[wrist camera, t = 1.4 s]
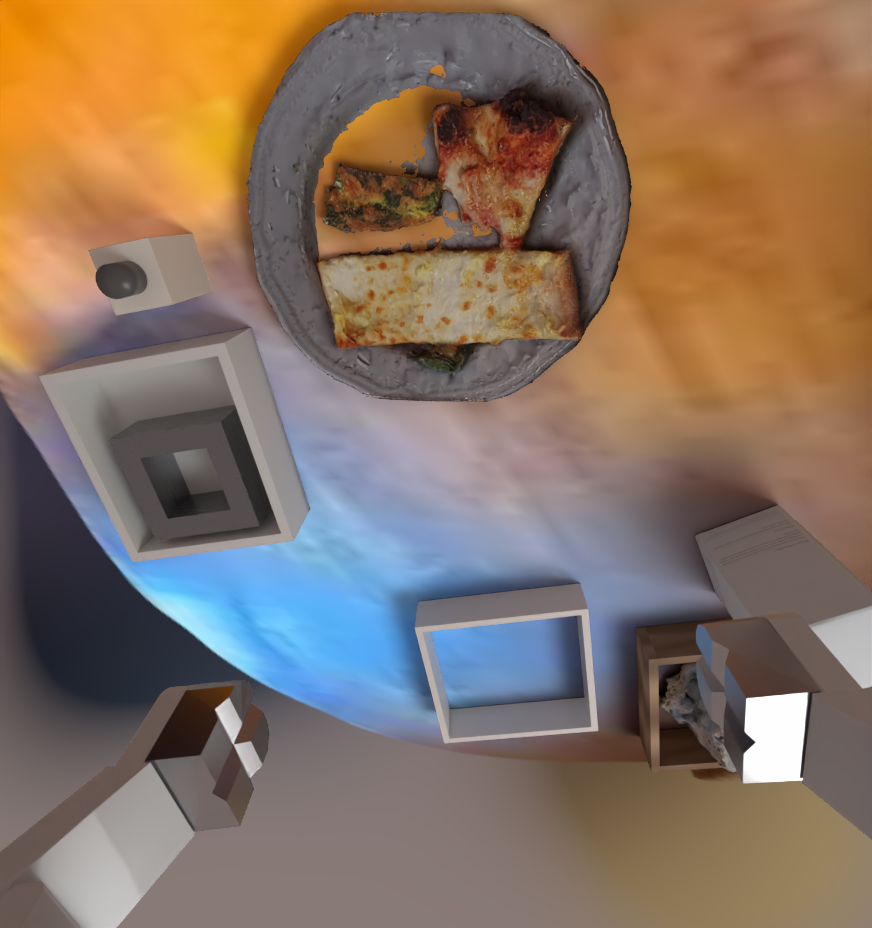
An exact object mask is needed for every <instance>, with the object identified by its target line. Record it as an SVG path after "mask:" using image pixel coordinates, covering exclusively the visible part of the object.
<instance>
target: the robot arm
mask: <svg viewBox="0 0 872 928" xmlns="http://www.w3.org/2000/svg"><path fill="white" fill-rule="evenodd" d="M696 643H697V645H698V647H699V649H700V651H701V653H702V656H701V657H700V658H699V659H698V661H697V662H696V670H697V680H698V685H699V690H700V694H701V697H702V700H703V702H704V705H705V708H706V710H707V712H708V714H709V716H710V718H711V720H712V721H713V722H715V723H716V724H718V725H719V726H721V727H722V728H723V729H724V742H723V745H724V747H725V749H726V751H727V753H728V755H729V757H730V759H731V761H732V763H733V765H734V767H735V769H736V771H737V773H738V775H739V777H740V779H741V781H742V783H757V782H775V781H793V780H802V783H803V784H804V785H805V786H807V787H808V788H809V789H811V791H813V792H814V793H815V794H817V795H818V796H819V797H820V798H821V799H823V800H824V801H825V802H826V803H828V804H829V805H830V806H831V807H833V808H834V809H835V810H836V811H837V812H839V813H840V814H841V815H842V816H843V817H845V818H846V819H847V820H848V821H850V822H851V823H852V824H853V825H854V826H856V827H857V828H858V829H859V830H861V831H862V832H863V833H865V834H866V835H867V836H868V837H869V838H870V839H872V688H862V687H861V686H860V685H859V684H858V683H857V682H856V680H855V679H854V678H853V677H852V676H851V675H850V673H849V672H848V671H847V670H846V669H845V668H844V666H843V665H842V664H841V663H840V662H839V661H838V659H837V658H836V657H835V656H834V655H833V654H832V652H831V651H830V650H829V649H828V648H827V647H826V645H825V644H824V643H823V642H822V641H821V640H820V638H819V637H818V636H817V635H816V634H815V632H814V631H813V630H812V629H811V628H810V627H809V625H808V624H807V623H806V622H805V621H804V620H803V618H802V617H801V616H800V615H798V614H796V613H795V612H786V613H779V614H771V615H764V616H760V617H751V618H743V619H735V620H728V621H720V622H712V623H705V624H698V626H697V629H696ZM254 695H255V694H254V692H253V690H252V688H251V686H250V684H249V682H248V681H242V680H238V681H228V682H217V683H207V684H196V685H192V686H181V687H170V688H168V689H167V690H165V691H164V692H162V693H161V694H160V696H159V698H158V699H157V701H156V702H155V704H154V706H153V707H152V709H151V710H150V712H149V713H148V715H147V716H146V718H145V720H144V721H143V723H142V724H141V726H140V727H139V729H138V731H137V732H136V734H135V735H134V737H133V738H132V740H131V742H130V743H129V745H128V746H127V748H126V749H125V751H124V753H123V754H122V756H121V757H120V759H119V760H118V762H117V763H116V765H115V766H109V767H106V768H105V769H104V770H102V771H101V772H100V773H99V774H97V775H96V776H95V777H94V778H92V779H91V780H90V781H89V782H87V783H86V784H85V785H84V786H82V787H81V788H80V789H79V790H77V791H76V792H75V793H73V794H72V795H71V796H70V797H69V798H67V799H66V800H65V801H63V802H62V803H61V804H60V805H58V806H57V807H56V808H55V809H53V810H52V811H51V812H50V813H48V814H47V815H46V816H45V817H43V818H42V819H41V820H40V821H38V822H37V823H36V824H35V825H33V826H32V827H31V828H29V829H28V830H27V831H26V832H25V833H23V834H22V835H21V836H19V837H18V838H17V839H16V840H14V841H13V842H12V843H11V844H9V845H8V846H7V847H6V848H4V849H3V850H2V851H1V852H0V928H117V926H118V925H119V924H120V923H121V922H122V920H123V919H124V918H125V917H126V916H127V914H128V913H129V912H130V911H131V910H132V909H133V907H134V906H135V905H136V904H137V902H138V901H139V900H140V899H141V898H142V897H143V896H144V894H145V893H146V892H147V891H148V890H149V888H150V887H151V886H152V885H153V884H154V882H155V881H156V880H157V879H158V878H159V876H160V875H161V874H162V873H163V872H164V871H165V869H166V868H167V867H168V866H169V865H170V863H171V862H172V861H173V860H174V859H175V857H176V856H177V855H178V854H179V853H180V851H181V850H182V849H183V848H184V847H185V846H186V844H187V843H188V842H189V841H190V840H191V838H192V837H193V836H194V834H195V833H194V831H204V830H212V829H221V828H229V827H237V826H240V825H241V822H242V819H243V817H244V814H245V811H246V809H247V806H248V803H249V800H250V798H251V795H252V793H253V790H254V788H253V785H252V782H251V779H250V777H251V776H252V775H253V774H254V773H255V772H256V771H257V770H258V769H259V768H260V767H261V766H262V765H263V762H264V759H265V756H266V753H267V750H268V740H269V729H268V724H267V720H266V718H265V715H264V713H263V711H262V710H260V709H259V708H257V707H255V706H254V705H253V704H251V702H252V700H253V697H254Z"/></svg>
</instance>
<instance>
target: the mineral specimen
mask: <svg viewBox="0 0 872 928" xmlns="http://www.w3.org/2000/svg"><path fill="white" fill-rule="evenodd" d="M666 681H667V689H668V692H666V694H665V697H664V696H659V706H660V707H662V708H663V709H664V710H666V711H668V712H669V714H670V715H671V716H672V717H673V718H674V720H675V721H676V722H678V723H684V724H686V725H687V726H688V727H689V728H690V729H691V730H692V731H693V732H694V735H695V737H696V739H697V741H698V742H699V743H700V744H701V745H702V746H703V747H704V748H706V749H707V750H708V751H709V752H710V754H711V755H712V756H713V757H714V758H715V759H716V760H717V762H718V763H719V765H720V766H721V767H723V768H725V769H727V770H728V771H730V772H735V771H736V769H735V767H734V765H733V763H732V761H731V759H730V757H729V755H728V753H727V751H726V749H725V747H724V745H723V742H724V729H723V728H722V727H721V726H719V725H718V724H716V723H715V722H713V721H712V720H711V718H710V716H709V714H708V712H707V710H706V708H705V705H704V702H703V700H702V697H701V694H700V690H699V685H698V680H697V670H696V662H691V663H687V664H684V665H682V666H681V672H680V673H679V674H677V675H674V676H671V677H670V678H667V679H666Z"/></svg>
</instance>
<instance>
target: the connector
mask: <svg viewBox="0 0 872 928" xmlns="http://www.w3.org/2000/svg"><path fill="white" fill-rule="evenodd" d="M88 251H89V253H90V255H91V258H92V260H93V262H94V265H95V267H96V270H97V272H96V283H97V285H98V287H99V289H100V290H101V291H102V293H103V294H105V295H106V296H108V298H109V300H110V303H111V305H112V307H113V310H114V312H115V314H116V316H117V315H122V314H127V313H132V312H138V311H143V310H148V309H153V308H158V307H163V306H169V305H173V304H177V303H180V302H183V301H186V300H189V299H192V298H195V297H198V296H201V295H204V294H207V293H210V292H213V290H212V287H211V285H210V282H209V279H208V276H207V273H206V270H205V267H204V264H203V261H202V258H201V255H200V253H199V250H198V247H197V244H196V241H195V238H194V235H193V234H183V235H172V236H161V237H150V238H144V239H140V240H135V241H130V242H125V243H121V244H116V245H111V246H106V247H102V248H97V249H92V250H88Z"/></svg>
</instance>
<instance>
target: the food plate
mask: <svg viewBox="0 0 872 928" xmlns="http://www.w3.org/2000/svg"><path fill="white" fill-rule="evenodd" d="M380 13H381V12H380ZM359 14H360V15H359ZM438 64H439V65H442V66H443V68H444V71H445V73H446V78H443V77H441V76H438V75H435V74H430V73H429V72H430V69H431V68H433V67H434V66H436V65H438ZM578 66H579V62H577V60H575V59H574V58H573V56H572V55H571V54H570V53H569V51H568V50H567V49H566V48H565V46H563V45H562V44H561V45H560V44H559V43H557V42H556V41H554V40H553V39H552V38H551V37H550V35H549V33H547V31H544V30H543V29H541V28H540V27H539V26H535V24H533V23H530V22H528V21H527V20H525V19H522V18H521V17H519V16H517V15H512V14H507V15H506V14H504V13H501V14H498V13H497V14H493V13H438V12H425V13H420V14H419V13H417V12H414V13H408V12H390V13H381V15H379V17H377V16H376V15H373V12H371V13H369V15H364V14H361V13H358V12H355V13H352V14H348V15H347V16H346V17H344V18H343V19H339V21H336V22H334V23H332V24H330V25H328V26H326V27H325V29H323V30H322V31H321V32H319V33H318V34H316V35H315V36H314V37H313V38H312V39H311V41H309V42H308V44H307V45H306V46H305V47H304V48H303V49H302V51H301V52H300V54H299V55H298V57H297V58H296V59H295V61H294V63H293V64H292V65H291V66H290V67H289V69H287V71H286V75H285V76H283V77H284V78H283V79H282V81H281V83H280V85H279V86H278V88H277V90H276V94H275V95H274V98H273V100H272V101H271V103H270V105H269V108H268V109H267V111H266V113H265V116H264V117H263V120H262V121H263V122H262V123H261V122H260V125H259V126H258V134H256V141H255V144H254V145H253V152H252V159H251V168H250V173H249V177H248V182H246V184H247V187H248V189H249V194H248V195H249V197H248V199H247V200H248V201H249V206H248V210H249V219H250V226H251V234H252V241H253V248H254V257H255V265H257V266H256V270H257V278H258V282H259V285H260V287H261V288H262V291H263V292H264V294H265V297H266V298H267V299H268V300H269V302H270V304H271V307H273V310H274V311H275V312H276V313H277V315H278V320H279V321H280V323H281V324H282V325H281V326H282V327H283V328H284V329H285V330H284V331H286V332H287V333H288V335H289V336H290V338H292V340H293V342H294V344H295V345H297V346H298V347H299V349H300V350H301V351H302V352H303V353H304V355H305V356H306V357H308V358H309V359H310V361H311V362H313V364H315V365H316V366H317V367H318V368H320V369H321V370H323V371H324V372H325V373H326V374H327V375H330V376H331V377H333V379H335V380H338V381H339V382H342V383H345V384H347V385H349V386H351V387H353V388H355V389H356V390H358V391H360V392H361V393H363V394H366V395H371V396H374V395H375V396H381V397H387V398H380V397H379V399H390V400H414V401H455V400H460V402H464V401H468V400H472V401H468V402H473V401H478V400H479V399H480V400H482V399H484V401H479V402H487V401H490V400H493V399H496V398H502V397H503V396H504V397H505V396H508V395H510V394H512V393H514V392H516V391H518V390H520V389H521V388H523V387H524V386H526V385H527V384H529V383H532V382H533V380H534V379H536V378H537V377H538V376H539V375H541V374H542V373H543V372H544V371H545V370H547V369H548V368H549V367H550V366H551V365H552V364H553V363H555V362H556V361H557V360H558V359H559V358H561V357H563V355H564V354H567V353H568V352H569V351H570V350H572V349H573V348H574V347H575V346H576V345H577V344H578V343H579V342H580V341H581V339H582V336H583V335H584V333H585V330H586V328H587V327H588V326H589V323H590V322H591V321H592V319H593V318H594V317H595V315H596V314H597V313H598V312H599V310H600V308H601V307H602V305H603V304H604V302H605V301H606V299H607V297H608V295H609V292H610V285H611V282H612V281H613V279H614V277H615V275H616V272H617V269H618V261H619V260H620V256H621V252H622V249H623V247H624V244H625V240H626V235H627V231H628V222H629V212H630V207H631V201H630V200H631V199H630V193H631V188H632V186H631V179H630V173H629V169H628V163H627V157H626V155H625V152H624V148H623V147H622V144H621V140H620V139H619V137H618V133H617V130H616V126H615V122H614V120H613V118H612V114H611V109H610V105H609V102H608V98H607V96H606V94H605V92H604V90H603V88H602V86H601V85H600V83H599V82H598V80H597V79H596V78H595V77H594V76H593V74H591V72H590V71H588V70H587V69H586V67H584V66H583V67H584V68H585V70H584V68H581V69H580V67H578ZM442 76H443V74H442ZM421 85H426V86H429V87H433V88H435V89H437V88H439V89H449V90H451V91H459V92H460V93H461V94H462V98H463V99H465V98H466V99H467V98H469V99H471V100H473V101H474V102H475V103H476V105H475V106H474V105H473V106H471V107H467V106H466V105H465V104H464V102H463V100H462V102H461V105H462V106H463V107H461V106H458V105H453V104H451V103H449V104H448V103H447V104H445V103H444V104H440V105H437V106H436V107H435V108H434V109H433V111H432V112H431V115H432V119H433V120H432V121H431V122H430V123H429V125H428V128H429V129H430V128H432V127H433V133H432V134H430V133H428V131H429V129H428V130H427V129H425V132H426V133H427V136H426V137H425V138H424V139H423V141H422V147H423V146H425V151H426V153H425V155H424V156H423V158H422V159H420V158H418V159H417V160H416V163H417V164H419V165H415V166H414V164H413V162H412V163H410V162H409V161H406V162H405V163H403V164H402V165H401V166H402V167H403V168H405V167H407V169H406V172H405V173H404V174H410V175H413V174H415V170H416V168H418V171H419V172H418V173H417V176H416V178H405V177H400V176H397V175H395V176H389V175H385V176H383V175H382V173H380V172H379V173H376V172H367V171H362V170H359V169H354V168H350V167H346V166H342V165H341V163H340V164H339V166H338V167H339V168H338V170H337V177H336V181H335V184H334V186H330V187H329V188H327V194H326V197H327V202H325V204H326V207H327V210H326V211H327V216H326V217H325V218H323V219H322V220H323V222H324V223H325V224H328V225H331V226H333V227H336V228H338V229H340V230H341V231H344V232H346V233H348V232H352V233H355V231H356V230H358V231H361V232H362V231H364V230H371V231H383V232H388V231H393V230H395V229H400V228H402V227H408V226H415V225H420V224H423V223H426V222H431V221H432V220H433V219H434V217H436V216H442V217H445V216H446V215H447V214H446V213H445V216H444V215H443V211H444V210H445V209H447V211H448V213H450V212H451V211H458V213H459V216H458V218H457V220H455V221H453V220H451V219H449V218H448V217H445V218H444V220H445V224H446V226H447V227H449V226H451V228H453V229H454V231H455V233H456V234H455V235H453V236H452V238H450V239H448V240H446V241H445V240H444V239H443V238H442V237H439V239H440V241H439V242H438V243H436V242H435V240H436V238H433V239H431V240H429V241H427V248H428V249H427V250H419V249H418V250H416V251H415V252H414V251H412V250H411V247H410V243H409V242H408V243H407V244H406V245H405V246H403V249H402V250H398V251H397V252H395V253H392V252H391V248H389V249H383V248H382V251H381V252H378V251H379V247H377V248H376V249H375V250H374V251H372V252H370V253H369V254H368V255H361V253H360V252H358V253H349V254H348V255H347V254H342V255H339V256H338V257H336V258H333V259H328V260H324V259H322V261H320V262H319V261H318V257H319V251H318V242H317V231H316V227H315V211H314V210H315V204H314V203H312V201H314V193H315V189H316V187H317V184H318V173H319V169H320V168H323V167H324V161H323V160H324V157H325V156H326V155H327V154H328V153H330V152H331V150H332V147H333V143H334V141H335V140H336V138H337V137H338V136H339V133H342V131H345V130H348V128H347V124H348V123H351V122H352V121H354V120H355V118H356V117H358V116H360V115H363V114H364V112H365V111H366V110H368V109H369V108H370V107H371V106H372V105H373V104H375V103H376V102H380V101H383V100H385V99H387V100H388V101H389V100H390V99H392V98H399V94H400V92H401V91H403V90H405V89H408V88H410V89H413V88H416V87H419V86H421ZM478 104H479V105H478ZM414 147H416V145H415V146H414ZM414 156H415V155H414ZM391 162H392V161H390V163H391ZM434 162H435V163H434ZM248 185H249V186H248ZM546 190H547V191H546ZM441 191H443V192H441ZM445 191H447V192H445ZM545 191H546V193H545ZM546 194H547V195H548V197H546ZM440 196H441V197H440ZM539 198H540V201H539ZM441 200H442V202H441ZM446 204H447V206H445V205H446ZM473 224H477V225H478V226H479V227H480V229H481V231H486V230H487V229H488V228H489V226H490V227H491V228H492V233H490V234H489V235H485V236H477V237H474V236H473V234H474V232H473V230H472V226H471V225H473ZM476 228H477V226H476ZM468 233H469V234H470V235H469V234H468ZM422 236H424V234H422ZM420 242H421V243H422V241H420ZM400 245H401V243H400ZM328 313H329V314H330V315H331V316H330V317H329V315H328ZM367 397H368V396H367ZM373 398H376V397H373ZM392 398H397V399H392ZM398 398H400V399H398Z"/></svg>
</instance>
